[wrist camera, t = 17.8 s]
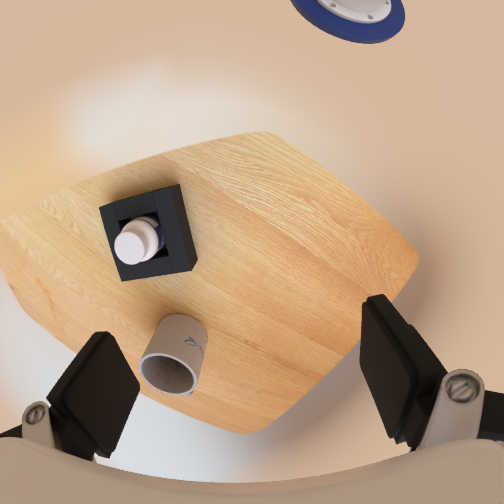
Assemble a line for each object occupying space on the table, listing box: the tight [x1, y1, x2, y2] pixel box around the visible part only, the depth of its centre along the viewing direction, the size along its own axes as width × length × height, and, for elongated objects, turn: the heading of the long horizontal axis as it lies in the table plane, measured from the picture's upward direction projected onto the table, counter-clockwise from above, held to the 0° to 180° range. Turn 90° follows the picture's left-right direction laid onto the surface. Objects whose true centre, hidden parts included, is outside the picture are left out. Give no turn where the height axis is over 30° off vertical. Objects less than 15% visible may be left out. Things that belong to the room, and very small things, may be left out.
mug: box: [139, 314, 208, 396], centre depth 39 cm, size 12×9×10 cm
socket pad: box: [99, 184, 198, 281], centre depth 35 cm, size 11×11×4 cm
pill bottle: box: [114, 212, 166, 265], centre depth 33 cm, size 5×5×9 cm
